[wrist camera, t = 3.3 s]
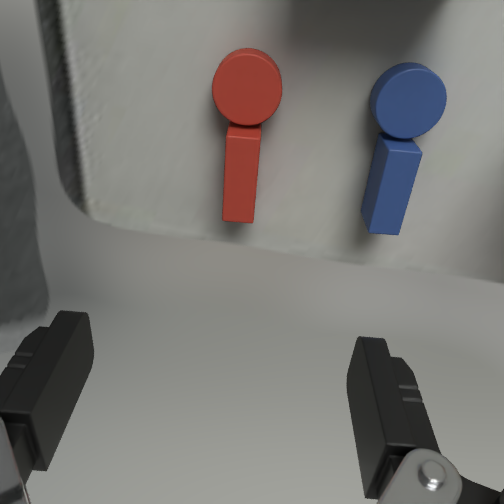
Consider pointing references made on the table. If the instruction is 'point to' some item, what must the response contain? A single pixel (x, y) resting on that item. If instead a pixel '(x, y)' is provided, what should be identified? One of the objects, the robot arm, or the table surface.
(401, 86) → the blue spoon
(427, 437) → the robot arm
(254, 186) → the red spoon
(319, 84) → the table surface
